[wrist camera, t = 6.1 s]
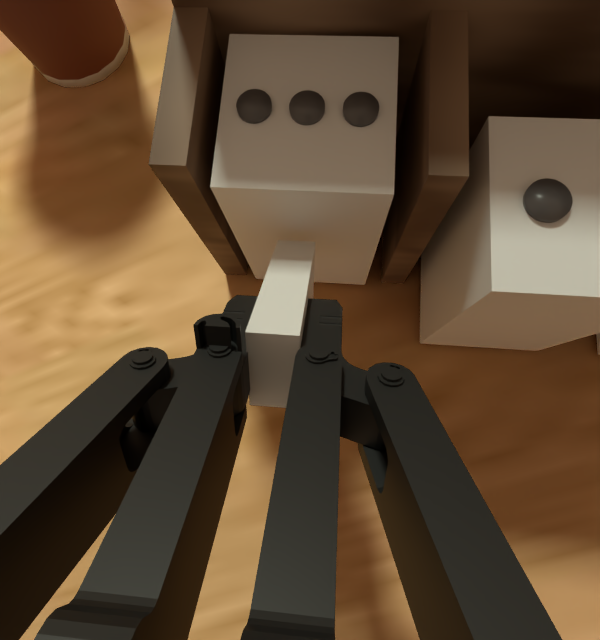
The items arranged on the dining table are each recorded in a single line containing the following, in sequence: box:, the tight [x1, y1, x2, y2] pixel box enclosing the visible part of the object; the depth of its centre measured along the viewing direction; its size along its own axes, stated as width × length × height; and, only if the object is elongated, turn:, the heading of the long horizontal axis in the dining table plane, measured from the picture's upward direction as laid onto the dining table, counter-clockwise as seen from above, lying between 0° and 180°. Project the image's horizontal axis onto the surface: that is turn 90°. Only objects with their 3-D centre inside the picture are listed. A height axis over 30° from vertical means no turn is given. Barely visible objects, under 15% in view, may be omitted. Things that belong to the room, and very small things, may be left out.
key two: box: [420, 116, 600, 351], centre depth 18 cm, size 6×6×10 cm
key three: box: [210, 34, 399, 285], centre depth 19 cm, size 6×6×10 cm
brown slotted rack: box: [149, 0, 600, 283], centre depth 16 cm, size 28×8×17 cm, turn 86°
